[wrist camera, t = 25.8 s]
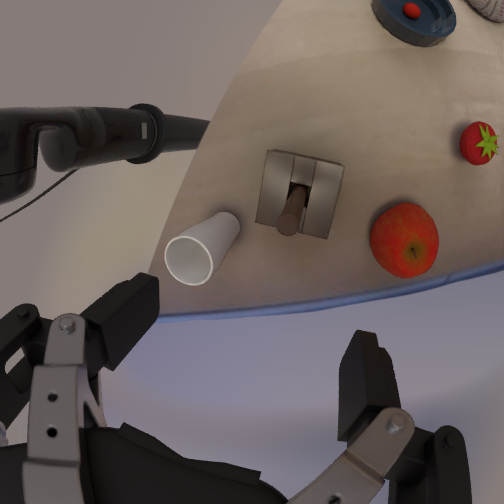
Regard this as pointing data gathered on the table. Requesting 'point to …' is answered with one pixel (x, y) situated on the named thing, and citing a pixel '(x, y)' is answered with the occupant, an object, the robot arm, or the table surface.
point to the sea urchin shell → (490, 8)
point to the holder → (305, 173)
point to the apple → (405, 240)
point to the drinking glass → (201, 248)
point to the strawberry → (478, 143)
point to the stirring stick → (292, 211)
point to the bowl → (417, 20)
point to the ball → (411, 10)
